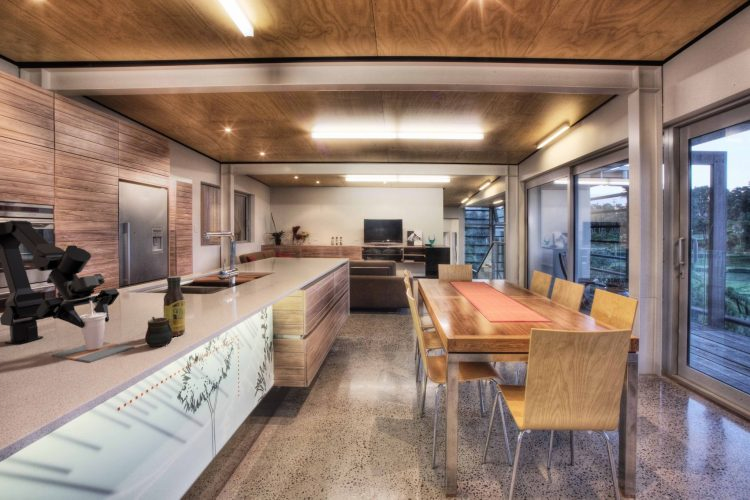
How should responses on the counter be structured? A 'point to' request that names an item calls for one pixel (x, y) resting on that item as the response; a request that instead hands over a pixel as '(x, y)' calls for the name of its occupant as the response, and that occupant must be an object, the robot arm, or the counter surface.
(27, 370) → the counter surface
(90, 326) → the smoothie
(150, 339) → the mate gourd
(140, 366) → the counter surface
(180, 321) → the sauce bottle
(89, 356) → the slate board
